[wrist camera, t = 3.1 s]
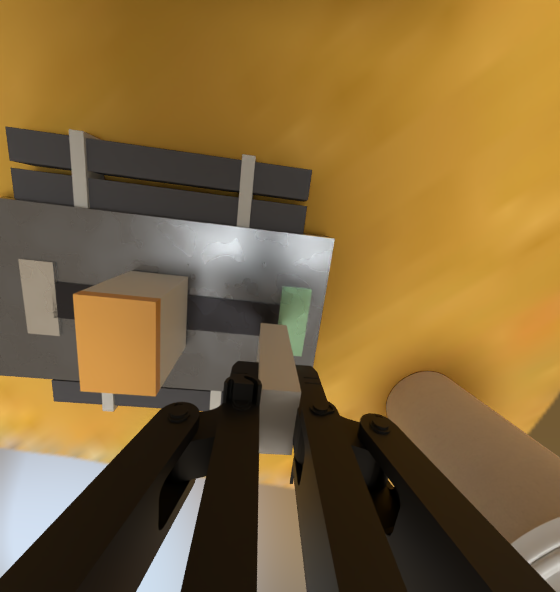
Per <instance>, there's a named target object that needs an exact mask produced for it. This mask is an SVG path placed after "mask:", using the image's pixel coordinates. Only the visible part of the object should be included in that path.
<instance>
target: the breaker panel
mask: <svg viewBox="0 0 560 592" xmlns="http://www.w3.org/2000/svg"><path fill="white" fill-rule="evenodd" d="M334 240H335V239H334V238H331V237H327V236H320V235H312V234H304V233H303V234H295V233H287V232H279V231H270V230H262V229H254V228H245V227H237V226H229V225H221V224H213V223H205V222H197V221H188V220H180V219H172V218H164V217H156V216H147V215H139V214H131V213H123V212H114V211H106V210H98V209H90V208H80V207H73V206H65V205H57V204H49V203H41V202H32V201H24V200H16V199H15V198H10V197H0V375H2V376H16V377H30V378H44V379H58V380H71V381H80V379H79V366H78V354H77V341H76V329H75V316H74V304H73V294H74V293H77V292H79V291H82V290H84V289H87V288H89V287H92V286H94V285H97V284H99V283H101V282H104V281H106V280H109V279H111V278H114V277H116V276H119V275H121V274H124V273H126V272H129V271H138V272H148V273H157V274H167V275H176V276H186V277H188V294H187V324H186V347H185V349H184V350H183V352H182V354H181V355H180V357H179V359H178V360H177V362H176V364H175V365H174V367H173V369H172V370H171V372H170V374H169V375H168V377H167V379H166V380H165V382H164V384H163V385H162V387H169V388H183V389H197V390H211V391H223V390H224V382H225V380H226V378H228V377H230V374H231V370H232V366H233V365H234V364H235V363H236V362H237V361H248V362H257V354H258V345H259V336H260V327H261V323H267V324H277V325H287V330H288V334H289V339H290V343H291V348H292V352H293V357H294V361H295V365H307V366H312V367H313V363H314V358H315V352H316V346H317V340H318V334H319V328H320V322H321V317H322V311H323V305H324V299H325V293H326V287H327V281H328V276H329V270H330V264H331V258H332V252H333V246H334Z"/></svg>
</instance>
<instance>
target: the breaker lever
mask: <svg viewBox="0 0 560 592" xmlns="http://www.w3.org/2000/svg"><path fill="white" fill-rule="evenodd" d="M187 294H188V277H186V276H176V275H167V274H157V273H148V272H138V271H129V272H126V273H124V274H121V275H119V276H116V277H114V278H111V279H109V280H106V281H104V282H101V283H99V284H97V285H94V286H92V287H89V288H87V289H84V290H82V291H79V292H77V293H74V294H73V304H74V316H75V329H76V341H77V354H78V366H79V379H80V391H83V392H98V393H112V394H127V395H141V396H156V395H157V393H158V392H159V390H160V388H161V387H162V385H163V384H164V382H165V380H166V379H167V377H168V375H169V374H170V372H171V370H172V369H173V367H174V365H175V364H176V362H177V360H178V359H179V357H180V355H181V354H182V352H183V350H184V349H185V347H186V324H187Z"/></svg>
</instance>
